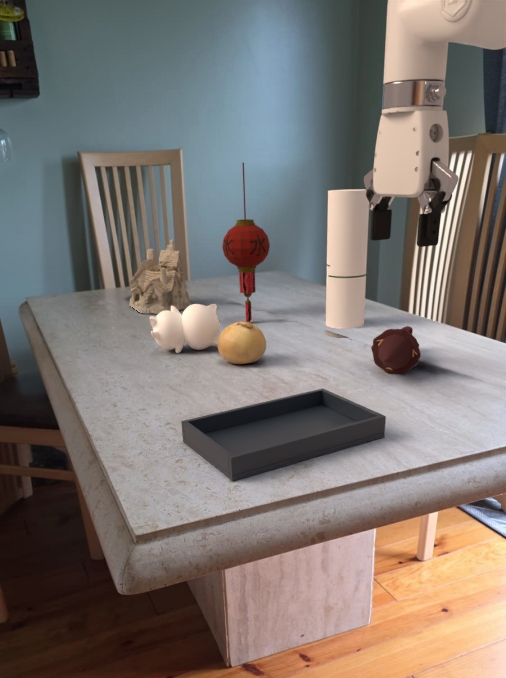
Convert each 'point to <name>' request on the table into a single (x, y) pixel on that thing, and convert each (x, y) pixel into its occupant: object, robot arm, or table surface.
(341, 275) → the cylindrical container
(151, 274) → the ceramic cottage
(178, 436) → the table surface
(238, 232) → the lantern
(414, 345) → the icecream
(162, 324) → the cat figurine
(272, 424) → the dish tray
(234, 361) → the onion
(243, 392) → the table surface
